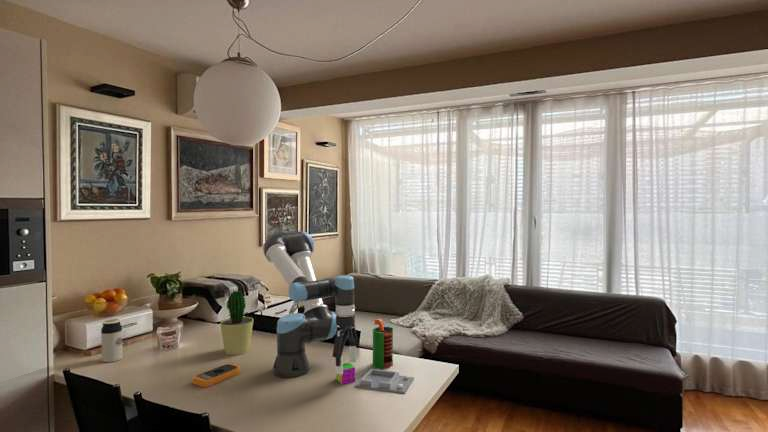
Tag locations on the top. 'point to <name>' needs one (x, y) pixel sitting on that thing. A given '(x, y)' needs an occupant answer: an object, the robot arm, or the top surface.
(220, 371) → the multimeter
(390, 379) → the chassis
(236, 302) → the potted cactus
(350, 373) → the puzzle toy
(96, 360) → the top surface
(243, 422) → the top surface
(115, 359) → the travel mug
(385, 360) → the motor
